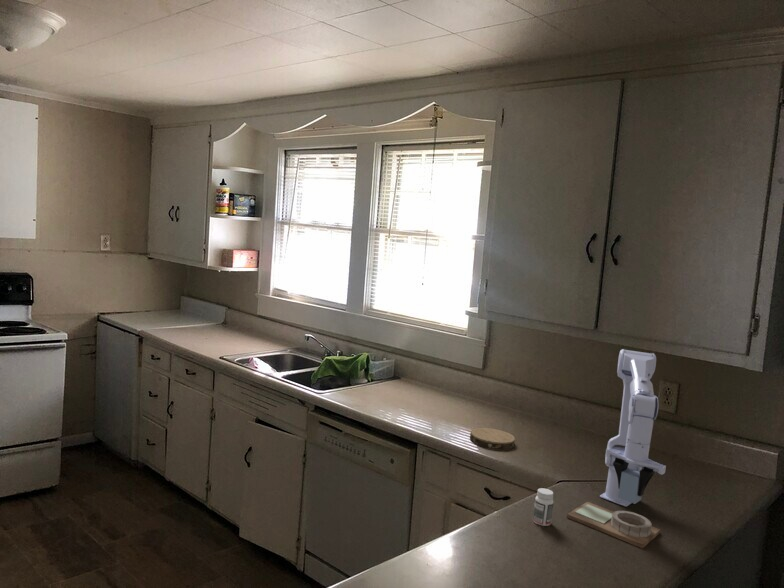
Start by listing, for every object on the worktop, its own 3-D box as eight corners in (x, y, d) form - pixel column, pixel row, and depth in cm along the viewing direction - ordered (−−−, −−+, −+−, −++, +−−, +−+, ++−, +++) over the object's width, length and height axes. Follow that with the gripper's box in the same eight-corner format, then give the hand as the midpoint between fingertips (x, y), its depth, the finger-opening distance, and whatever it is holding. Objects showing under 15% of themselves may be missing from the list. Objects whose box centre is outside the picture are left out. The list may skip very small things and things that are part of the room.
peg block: (624, 493, 161) (628, 468, 160) (641, 499, 158) (644, 473, 157) (617, 497, 158) (621, 471, 157) (634, 504, 155) (638, 477, 154)
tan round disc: (522, 445, 220) (523, 437, 220) (498, 454, 208) (500, 445, 208) (485, 433, 230) (486, 425, 230) (460, 440, 218) (462, 432, 218)
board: (587, 505, 172) (588, 493, 172) (659, 533, 159) (661, 520, 159) (566, 517, 162) (568, 504, 162) (642, 548, 149) (644, 534, 149)
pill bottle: (547, 518, 160) (552, 488, 160) (553, 527, 156) (557, 495, 155) (530, 517, 160) (534, 486, 159) (535, 525, 155) (539, 494, 155)
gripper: (604, 435, 158) (597, 485, 159) (662, 452, 149) (653, 505, 150) (615, 431, 163) (608, 479, 165) (671, 447, 154) (663, 498, 155)
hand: (630, 491), depth 158 cm, fingers closed on peg block, 4 cm apart
